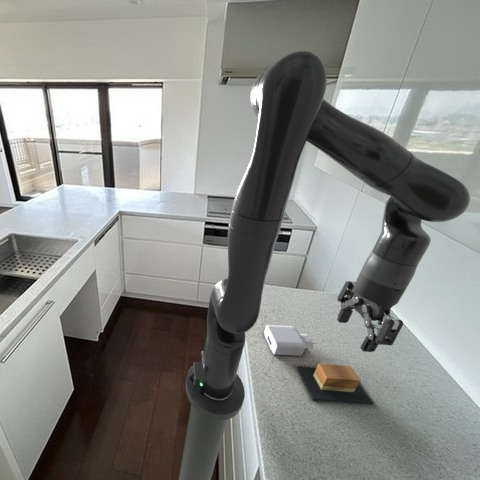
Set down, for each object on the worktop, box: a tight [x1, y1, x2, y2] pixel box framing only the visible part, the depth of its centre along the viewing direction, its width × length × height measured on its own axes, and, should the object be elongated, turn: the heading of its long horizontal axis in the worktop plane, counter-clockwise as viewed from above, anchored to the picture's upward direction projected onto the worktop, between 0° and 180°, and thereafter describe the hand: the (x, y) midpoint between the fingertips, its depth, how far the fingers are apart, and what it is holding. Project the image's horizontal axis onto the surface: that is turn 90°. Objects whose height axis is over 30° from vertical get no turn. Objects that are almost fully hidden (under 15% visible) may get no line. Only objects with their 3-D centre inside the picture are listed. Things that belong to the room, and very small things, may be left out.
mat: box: [296, 365, 374, 405], centre depth 73 cm, size 16×10×1 cm, turn 87°
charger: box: [263, 324, 317, 356], centre depth 84 cm, size 5×9×15 cm
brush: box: [313, 363, 361, 392], centre depth 72 cm, size 9×4×5 cm, turn 88°
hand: (353, 335), depth 59 cm, fingers open, 8 cm apart
